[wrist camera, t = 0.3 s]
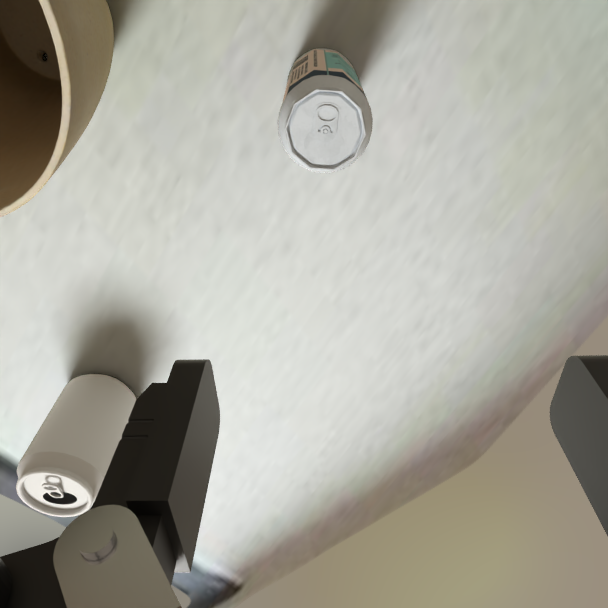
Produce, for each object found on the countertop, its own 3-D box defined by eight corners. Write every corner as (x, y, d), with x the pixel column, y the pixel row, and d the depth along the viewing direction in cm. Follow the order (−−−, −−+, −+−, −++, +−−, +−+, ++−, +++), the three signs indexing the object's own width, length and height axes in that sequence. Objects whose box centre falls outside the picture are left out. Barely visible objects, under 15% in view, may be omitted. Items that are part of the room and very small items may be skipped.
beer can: (285, 118, 35) (274, 175, 25) (289, 44, 33) (278, 74, 23) (352, 124, 35) (367, 182, 25) (361, 49, 33) (382, 82, 23)
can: (77, 420, 53) (22, 523, 43) (58, 367, 49) (-7, 468, 39) (146, 421, 53) (107, 524, 43) (133, 368, 49) (87, 469, 39)
